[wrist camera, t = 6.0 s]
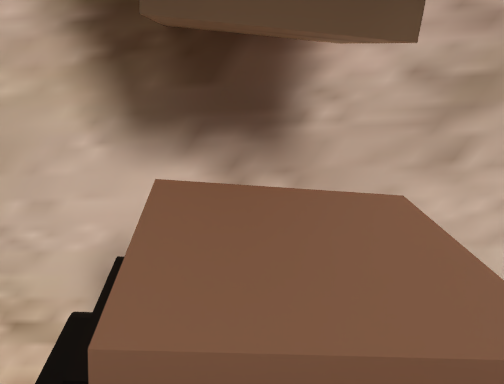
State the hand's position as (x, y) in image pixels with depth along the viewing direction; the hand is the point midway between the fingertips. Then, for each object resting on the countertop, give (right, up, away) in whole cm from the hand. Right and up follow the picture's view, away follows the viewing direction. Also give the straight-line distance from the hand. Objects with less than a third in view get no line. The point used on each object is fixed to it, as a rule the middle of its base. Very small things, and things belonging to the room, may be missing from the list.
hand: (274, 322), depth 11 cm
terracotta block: (0, 0, +1) cm, 1 cm away
